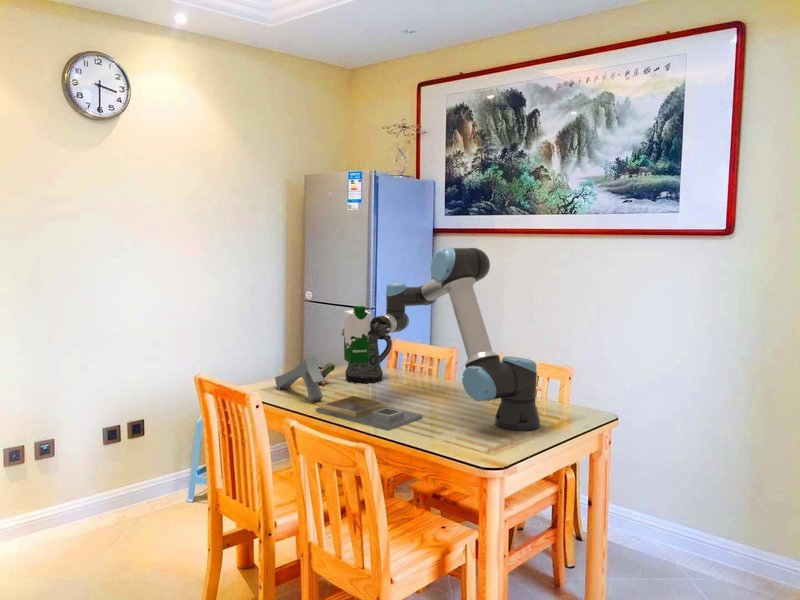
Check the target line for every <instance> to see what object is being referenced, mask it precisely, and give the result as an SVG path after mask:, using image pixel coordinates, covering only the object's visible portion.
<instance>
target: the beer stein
mask: <svg viewBox="0 0 800 600" xmlns="http://www.w3.org/2000/svg"><path fill="white" fill-rule="evenodd" d="M379 340H384V341H385V342H386V347H385V348H384V350H383V351H382V352H381V354H380V353H379V351H380V350H379V343H378V341H379ZM392 346H393V341H392V337H391V335H389V334H388V335H387V336H386V335H383V336H376V335H374V336H372V335H371V336H370V351H369V362H367V363H349V362H348V364H347V367H346V369H345V378H346V381H347V382H348V383H351V382H353V383H352V384H356V383H361V384H360V385H366V384H367V385H369V384H368V383H372V384H377V383H376V382H378V383H380V382H381V381H382V379H383V375H384V373H383V369H382V367H381V363H382V362H383V361H384V360H386V358H387V357H388V355H389V354H390V352H391V349H392ZM379 381H380V382H379Z"/></svg>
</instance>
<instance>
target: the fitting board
mask: <svg viewBox="0 0 800 600" xmlns="http://www.w3.org/2000/svg"><path fill="white" fill-rule="evenodd" d="M316 411H317V412H316ZM315 412H316V413H319V412H321V413H320V414H323V413H324V414H323V415H327V414H328V415H327V416H330V415H331V416H332V417H334V416H335V418H338V419H342V418H343V420H346V419H347V421H350V420H351V422H354V421H355V422H354V423H358V424H361V423H362V425H365V424H366V426H369V425H371V426H370V427H373V426H374V428H377V427H378V429H382V430H385V431H390V430H393V429H396V428H399V427H401V426H405V425H407V423H408V424H409V423H413V422H416V421H418V420H422V419H423V414H420V413H417V412H416V413H415V412H412V411H407V410H403V409H399V408H395V407H390V406H388V403H387V402H382V401H379V400H374V399H369V398H364V397H361V396H356V395H351V396H347V397H343V398H339V399H335V400H331V401H329V402H324V403H321V404H320V407H316V408H315Z"/></svg>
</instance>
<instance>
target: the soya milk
mask: <svg viewBox="0 0 800 600" xmlns="http://www.w3.org/2000/svg"><path fill="white" fill-rule="evenodd" d="M343 312H344V313H343V314H344V318H343V319H344V327H343V328H344V336H343V356H344V357H343V359H344V360H345V361H346V362H348V363H367V362H369V351H370V335H368V332H369V331H370V322H371V320H372V318H371V317H372V313H371V312H370V311H367V310H366V306H363V305H354V306H353V309H352V310H344V311H343ZM360 330H362V338H360Z"/></svg>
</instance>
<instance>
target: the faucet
mask: <svg viewBox="0 0 800 600" xmlns="http://www.w3.org/2000/svg"><path fill="white" fill-rule="evenodd" d="M319 367H320V366H319V365H318V360H317V357H310V358H304V359H303V360H302V361H301V362H300V363H299V364H298V365H296V366H295V367H294V368H293V369H291V370H289V371H288V372H286V373H284V374H281V375H278V376H275V377H274V381H275V385H276V388H278V389H277V390H280V389H279V388H284V389H288V388H287V387H289V388H291V386H292V385H293V384H294V383H295V382H296V381H297V380H299V379H300V378H302V380H303V381H304V382H303V383H304V384H305V388H306V393H307V395H308V401H309V403H314V402H313V401H316V402H320V401H322V399H323V398H324V394H323V393H322V390H321V388H320V387H321V386H320V384H321V383H320V382H322V383H325V382H324V381H326V380H325V378H323V376H322V374H321V372H320V370H321V369H320V368H319ZM318 383H319V384H318ZM319 400H320V401H319Z"/></svg>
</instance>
